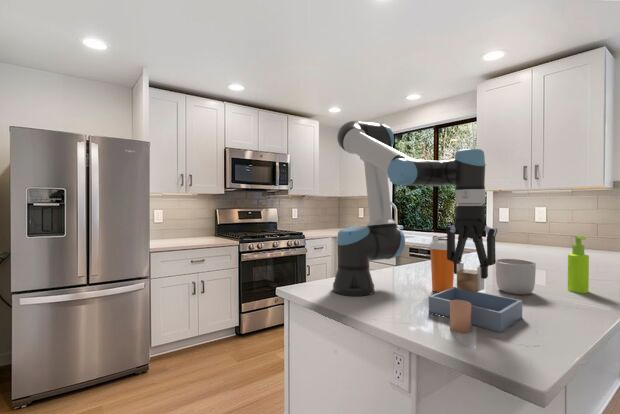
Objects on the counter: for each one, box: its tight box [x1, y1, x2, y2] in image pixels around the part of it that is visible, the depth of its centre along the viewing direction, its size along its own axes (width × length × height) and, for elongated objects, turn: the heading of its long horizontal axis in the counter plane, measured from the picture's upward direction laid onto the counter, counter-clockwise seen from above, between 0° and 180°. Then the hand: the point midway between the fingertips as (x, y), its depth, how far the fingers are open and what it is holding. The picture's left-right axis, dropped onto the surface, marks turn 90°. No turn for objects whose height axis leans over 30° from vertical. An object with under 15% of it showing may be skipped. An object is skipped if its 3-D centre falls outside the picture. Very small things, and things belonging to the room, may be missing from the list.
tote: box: [428, 286, 523, 334], centre depth 96 cm, size 20×16×5 cm
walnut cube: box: [456, 268, 479, 293], centre depth 93 cm, size 5×5×5 cm
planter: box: [495, 258, 537, 295], centre depth 120 cm, size 12×12×11 cm
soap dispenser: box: [567, 235, 590, 294], centre depth 119 cm, size 6×7×20 cm
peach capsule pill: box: [449, 300, 472, 334], centre depth 86 cm, size 5×5×7 cm
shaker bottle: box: [429, 235, 457, 293], centre depth 122 cm, size 9×9×20 cm
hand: (470, 287), depth 93 cm, fingers closed on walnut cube, 5 cm apart
